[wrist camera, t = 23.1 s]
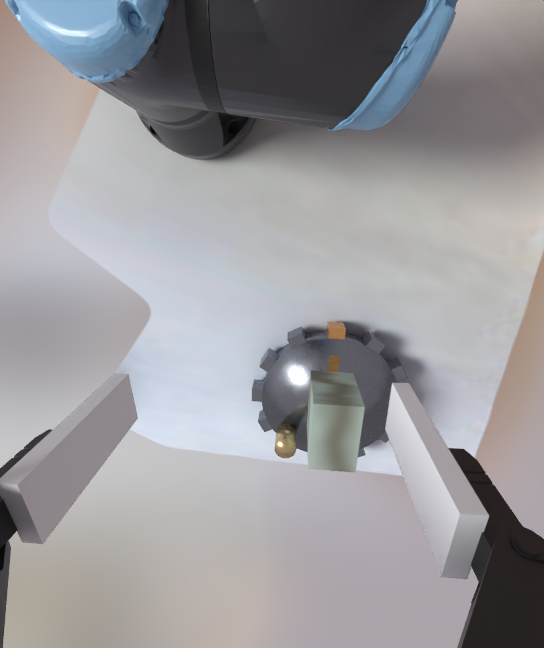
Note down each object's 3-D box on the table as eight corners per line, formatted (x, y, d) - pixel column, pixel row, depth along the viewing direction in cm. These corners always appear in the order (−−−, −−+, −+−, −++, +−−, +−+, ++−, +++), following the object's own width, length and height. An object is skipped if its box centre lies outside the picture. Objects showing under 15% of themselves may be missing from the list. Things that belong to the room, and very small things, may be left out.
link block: (306, 427, 47) (308, 468, 40) (310, 370, 44) (313, 403, 36) (346, 430, 47) (355, 472, 39) (353, 372, 43) (364, 407, 36)
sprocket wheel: (317, 469, 54) (320, 505, 47) (226, 382, 49) (214, 408, 42) (432, 398, 47) (454, 429, 40) (339, 290, 42) (346, 304, 36)
